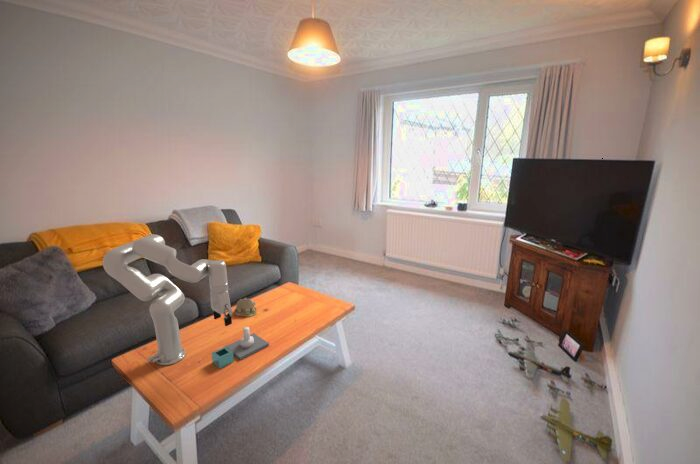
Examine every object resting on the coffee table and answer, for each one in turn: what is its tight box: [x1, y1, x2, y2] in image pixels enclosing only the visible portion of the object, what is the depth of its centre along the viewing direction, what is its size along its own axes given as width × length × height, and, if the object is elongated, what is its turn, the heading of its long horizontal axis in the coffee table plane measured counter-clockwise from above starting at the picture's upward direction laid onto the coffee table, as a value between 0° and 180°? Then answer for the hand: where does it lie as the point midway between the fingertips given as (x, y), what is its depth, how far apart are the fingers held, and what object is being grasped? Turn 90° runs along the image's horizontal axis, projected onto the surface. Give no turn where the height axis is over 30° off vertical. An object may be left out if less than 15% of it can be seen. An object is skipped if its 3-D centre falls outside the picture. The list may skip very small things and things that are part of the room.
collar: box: [211, 345, 235, 369], centre depth 148 cm, size 7×7×5 cm
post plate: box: [225, 326, 270, 361], centre depth 159 cm, size 16×14×10 cm
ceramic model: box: [233, 297, 258, 318], centre depth 195 cm, size 14×11×10 cm
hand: (222, 321), depth 147 cm, fingers open, 9 cm apart
